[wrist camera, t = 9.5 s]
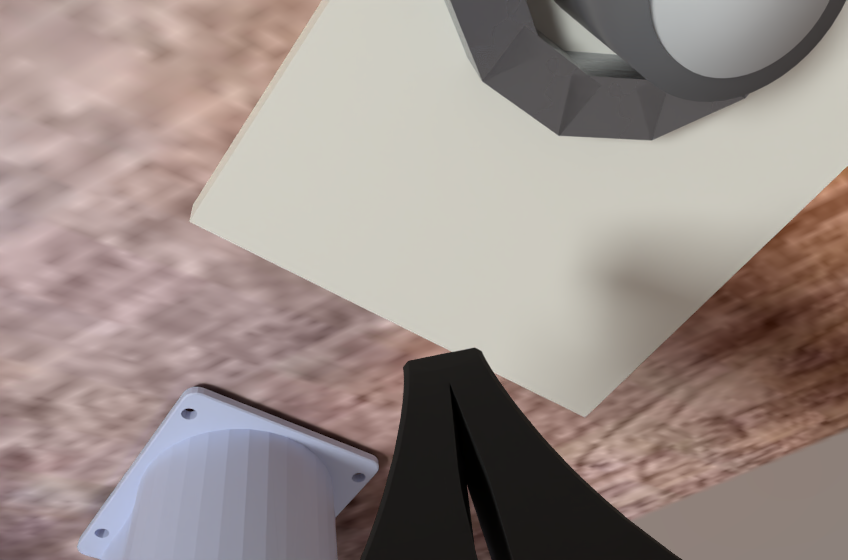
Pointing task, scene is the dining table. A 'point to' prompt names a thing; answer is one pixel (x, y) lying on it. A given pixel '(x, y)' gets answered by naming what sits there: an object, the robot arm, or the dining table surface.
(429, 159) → the board
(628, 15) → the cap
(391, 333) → the dining table surface
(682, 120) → the grey faceted ring
